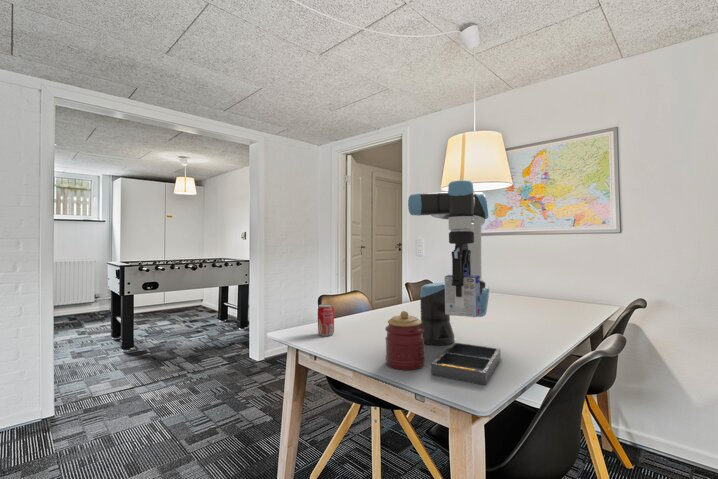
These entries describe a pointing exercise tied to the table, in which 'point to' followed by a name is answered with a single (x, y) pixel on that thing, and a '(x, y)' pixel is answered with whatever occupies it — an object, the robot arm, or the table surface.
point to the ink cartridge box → (470, 296)
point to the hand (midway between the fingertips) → (462, 305)
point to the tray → (467, 363)
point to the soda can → (325, 320)
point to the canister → (405, 342)
